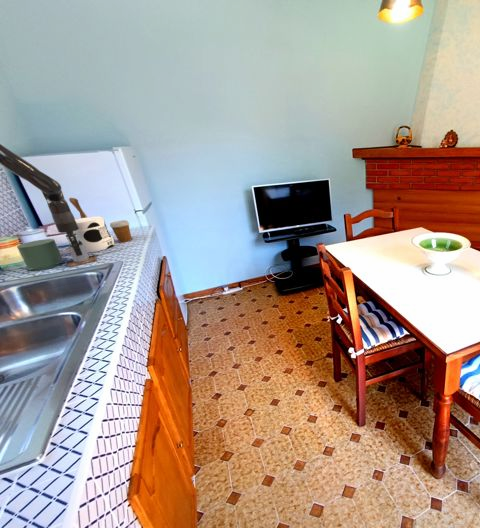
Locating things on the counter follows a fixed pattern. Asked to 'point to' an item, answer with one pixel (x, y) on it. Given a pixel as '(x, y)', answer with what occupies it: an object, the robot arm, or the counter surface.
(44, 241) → the green tapered cylinder
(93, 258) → the coaster
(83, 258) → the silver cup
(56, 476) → the counter surface
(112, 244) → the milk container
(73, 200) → the wooden handled tool
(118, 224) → the disposable coffee cup
